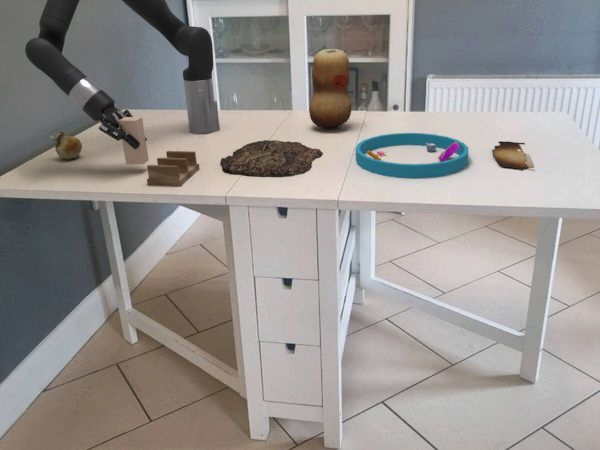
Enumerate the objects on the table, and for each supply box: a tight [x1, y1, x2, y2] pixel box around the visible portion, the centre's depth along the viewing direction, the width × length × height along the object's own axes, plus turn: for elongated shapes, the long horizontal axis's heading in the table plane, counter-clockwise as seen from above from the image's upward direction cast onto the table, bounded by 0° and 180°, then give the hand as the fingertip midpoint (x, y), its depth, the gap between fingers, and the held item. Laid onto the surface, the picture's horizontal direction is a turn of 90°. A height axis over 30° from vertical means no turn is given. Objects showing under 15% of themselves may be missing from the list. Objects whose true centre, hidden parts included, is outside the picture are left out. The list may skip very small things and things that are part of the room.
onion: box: [50, 131, 83, 161], centre depth 173 cm, size 8×8×8 cm
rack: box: [146, 150, 200, 187], centre depth 155 cm, size 14×9×5 cm, turn 168°
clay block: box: [118, 116, 150, 165], centre depth 158 cm, size 4×5×12 cm
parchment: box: [491, 140, 535, 172], centre depth 161 cm, size 25×10×1 cm, turn 167°
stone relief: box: [219, 139, 324, 178], centre depth 166 cm, size 26×4×30 cm
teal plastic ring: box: [355, 132, 469, 179], centre depth 160 cm, size 30×30×6 cm
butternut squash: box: [308, 48, 352, 130], centre depth 190 cm, size 14×13×25 cm
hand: (141, 144), depth 158 cm, fingers closed on clay block, 3 cm apart
